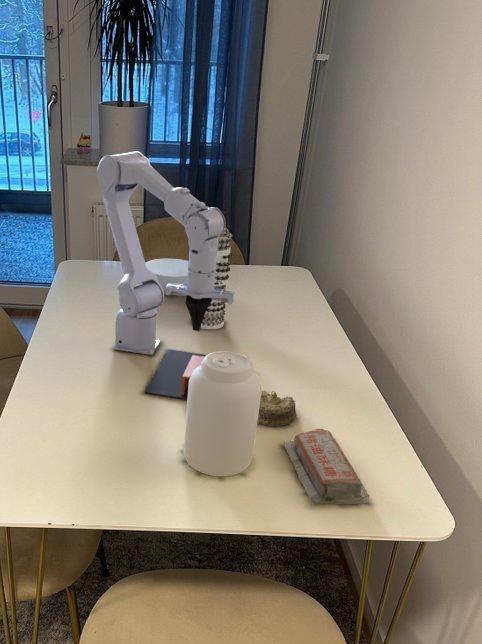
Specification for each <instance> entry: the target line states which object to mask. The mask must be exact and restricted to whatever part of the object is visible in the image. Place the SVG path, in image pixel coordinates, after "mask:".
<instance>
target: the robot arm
mask: <svg viewBox="0 0 482 644" xmlns="http://www.w3.org/2000/svg"><path fill="white" fill-rule="evenodd" d="M95 173H96V177H97V180H98V183H99V188H100V190H101V194H102V201H103V204H104V208H105V212H106V216H107V219H108V223H109V226H110V230H111V233H112V237H113V240H114V244H115V247H116V251H117V254H118V258H119V261H120V265H121V268H122V272H123V277H122V278H121V280H120V282H119V283H118V285H117V290H118V295H119V297H118V298H119V299H118V301H119V306H120V308H121V309H119V310H118V312H117V314H116V318H115V339H114V340H115V342H114V343H115V346H114V350H116V351H122V352H128V353H134V354H135V353H136V354H140V355H149V356H153V355H154V353H155V351H156V350H157V348H158V346H159V345H160V344H161V340H159V339H156V337H157V334H156V333H157V319H158V316H157V315H158V312H159V311H160V307H161V306H162V305H163V304H164V303H165V302H164V301H165V295H166V296H171V295H173V296H181V297H186V298H185V301H184V303H185V307H186V308H187V310H188V311H187V312H189V313H188V314H189V316H190V319H191V326H192V330H193V331H195V332H200V330H201V329H202V328H201V324H202V320H203V318H204V315H205V313H206V311H207V309H208V307H209V305H210V303H211V302H212V300H217V301H224V302H226V303H227V304H231V305H232V304H233V303H234V301H235V291H230V290H226V289H225V290H222V289H219V288H215V287H214V280H215V270H216V259H217V249H218V238H219V237H218V236H220V235H221V234H222V233H223V232H224V230H225V228H226V224H227V223H226V222H227V221H226V217H225V215H224V214H223V212H222V211H221V210H220V208H218V207H215V206H214V207H209V206H206V205H207V204H206V203H205V202H203V201H200V200H198V199H197V198H196V197H195V196H193V195H192V194H191V193H190V192H191V190H190V189H189V188H187V187H174V186H173V185H172V184H171V183H170V182H169V181H168V180H166V179H165V178H164V176H162V175H161V174H160V173H159V172H158V171H157V170H156V169H155V168H154V167H153V166H152V165H151V162H150V159H149V158H148V157H146V156H144V155H143V153H142V152H140V151H138V150H136V151H131V152H125V153H117V154H113V155H112V154H111V155H110V154H108V155H104V156H102V157H101V158H100V160H99V163H98V165H97V167H96V172H95ZM139 186H141V187H142V188H144V189H145V190H147V191H148V192H149V193H151V194H152V195H153V196H154V197H156V198H157V199H159V200H160V201H162V202H163V206H164V210H165V212H166V213H167V214H169V215H170V216H171V217H172V218H173V219H174V220H176V221H177V222H178V223H179V224H181V226H183V227H184V231H185V234H186V236H187V240H188V241H187V243H188V244H187V246H188V248H189V249H188V250H189V251H188V252H189V253H188V261H189V264H188V278H187V284H169V283H168V284H167V286H166V293H164V291H163V288H162V286H161V285H160V284H159V282H158V279H157V276H156V274H154V273H153V272H151V271H149V270H148V269H147V267H146V264H145V263H146V261H145V257H144V253H143V249H142V246H141V243H140V238H139V235H138V231H137V228H136V224H135V221H134V216H133V213H132V209H131V206H130V202H129V199H130V198H131V196H132V194H133V193H134V192H135V190H136V189H137V188H138V187H139Z"/></svg>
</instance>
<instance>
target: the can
mask: <svg viewBox="0 0 482 644" xmlns="http://www.w3.org/2000/svg"><path fill="white" fill-rule="evenodd" d="M205 355H206V356H205V357H204V359H203V361H202V362H201V365H200V366H199V367H197V368H196V369H195V370H194V371H193V373H192V374H191V377H190V379H189V385H188V399H187V400H186V414H185V426H184V440H183V457H184V460H185V461H186V462H187V464H188V465H189V466H190V467H191V468H192V469H194V470H196V471H197V472H199V473H201V474H205V475H208V476H212V477H229V476H231V477H232V476H235V475H238V474H240V473H242V472H244V471H245V470H246V469H247V468H248V467H250V464H251V463H252V461H253V456H254V448H255V441H256V434H257V426H258V422H257V421H258V414H259V407H260V400H261V393H262V391H263V390H262V389H263V388H262V383H261V378H260V376H259V374H258V373H256V371H255V370H254V366H253V363H252V360H251V359H250V358H249V357H248V356H246V355H244V354H242V353H239V352H235V351H229V350H228V351H227V350H218V351H213V352H210V353H208V354H205Z"/></svg>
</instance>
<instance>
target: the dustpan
mask: <svg viewBox="0 0 482 644" xmlns="http://www.w3.org/2000/svg"><path fill="white" fill-rule="evenodd" d="M203 359H204V357H203V356H196V355H192V358H191V360H190V362H189V364H188V366H187V368H186V370H185V372H184V374H183V377H182V391H181V395H184V393H185V390H186V388H187V386H188V384H189V379H190V377H191V374H192V373H193V371H194V370H195V369H196V368H197V367H199V366H200V365H201V362H202V361H203Z"/></svg>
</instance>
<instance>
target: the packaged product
mask: <svg viewBox="0 0 482 644" xmlns="http://www.w3.org/2000/svg"><path fill="white" fill-rule="evenodd" d="M283 447H284V449H285V450H286V452H287V454H288V456H289V458H290V460H291V462H292V464H293V467H294V469H295V472H296V474H297V477H298V481H299V482H300V484H302V485H303V487H304V489H305V492H306V493H307V495H308V497H309V500H310V501H311V504H312V505H313V506H315V505H347V504H348V505H350V504H351V505H353V504H368V502H369V500H370V494H369V493H368V491H367V489H366V488H365V486H364V485H363V483H362V481H361V479H360V478H359V476H358V475H357V472H355V469H354V467H353V466H352V464H351V463H350V461H349V459H348V458H347V456H346V455H345V453H344V450H343V449H342V448H341V446H340V445H339V443H338V441H337V439H336V438H335V437H334V436H333V434H332V432H331V431H330V430H327V429H324V428H315V429H313V430H309V431H303V432H300V433H297V434H296V435H295V436H294V439H293V440H289V441H287V440H286V441H285V440H284V441H283Z"/></svg>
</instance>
